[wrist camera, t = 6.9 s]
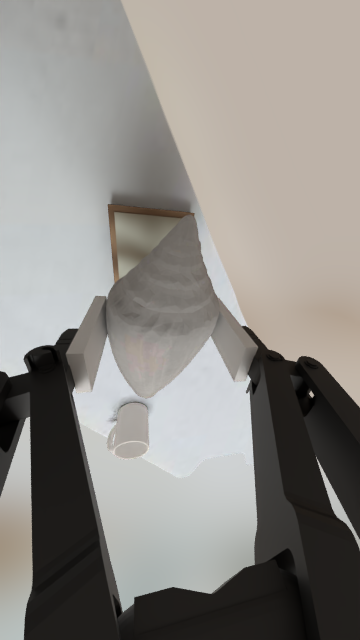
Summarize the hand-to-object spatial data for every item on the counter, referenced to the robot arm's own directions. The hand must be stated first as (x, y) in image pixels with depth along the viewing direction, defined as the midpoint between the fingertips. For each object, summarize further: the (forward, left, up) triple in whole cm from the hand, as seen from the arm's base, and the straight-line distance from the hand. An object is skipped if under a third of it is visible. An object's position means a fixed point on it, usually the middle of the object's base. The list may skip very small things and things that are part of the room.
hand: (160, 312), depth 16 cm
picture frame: (0, 0, -20) cm, 20 cm away
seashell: (+2, 0, -3) cm, 3 cm away
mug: (+44, -6, -20) cm, 49 cm away
